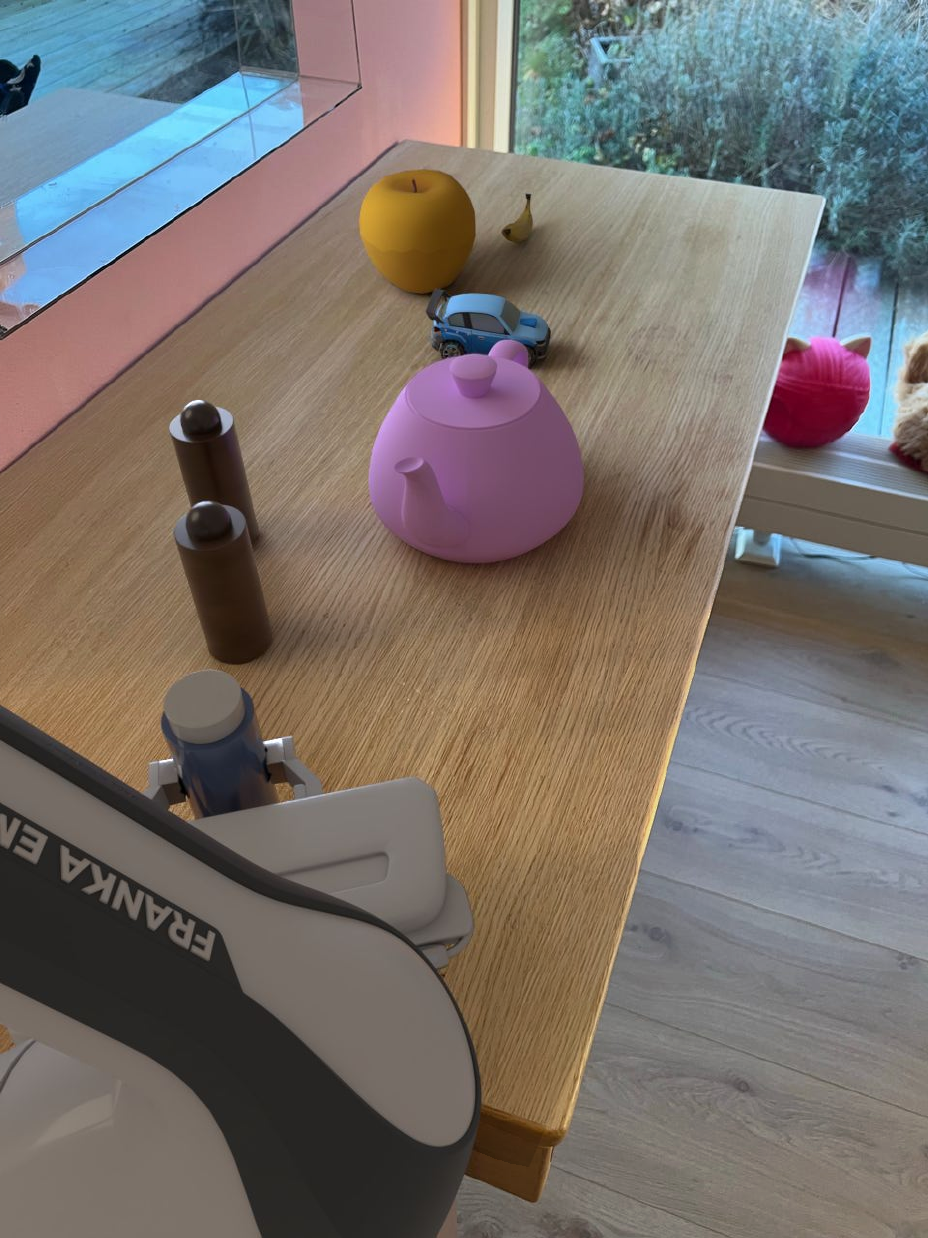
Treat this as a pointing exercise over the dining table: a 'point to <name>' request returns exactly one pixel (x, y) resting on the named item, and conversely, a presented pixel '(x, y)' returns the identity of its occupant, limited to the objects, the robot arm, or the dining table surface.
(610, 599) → the dining table surface
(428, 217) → the apple
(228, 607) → the near mill
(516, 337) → the toy car
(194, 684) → the blue shaker
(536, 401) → the teapot
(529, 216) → the banana
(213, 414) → the far mill
